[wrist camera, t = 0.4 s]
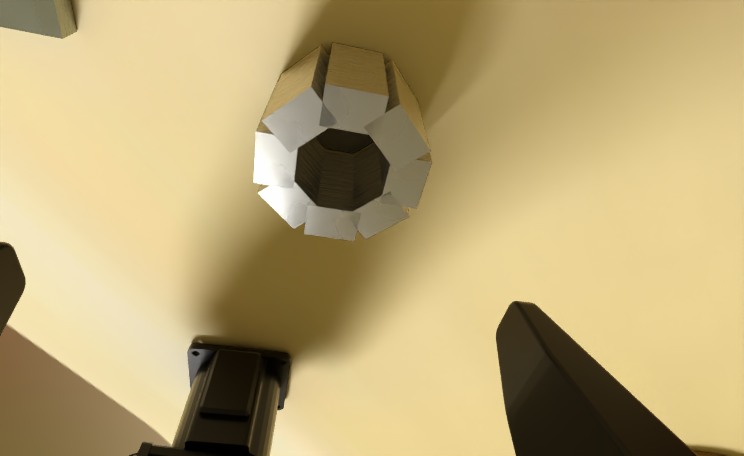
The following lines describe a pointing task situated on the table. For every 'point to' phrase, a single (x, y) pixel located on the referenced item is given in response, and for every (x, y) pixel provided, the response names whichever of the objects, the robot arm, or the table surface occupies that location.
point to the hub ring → (334, 168)
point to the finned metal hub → (38, 16)
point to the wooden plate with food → (706, 454)
